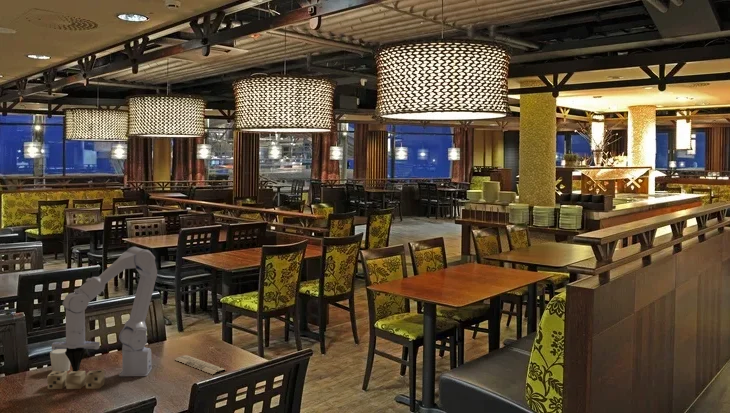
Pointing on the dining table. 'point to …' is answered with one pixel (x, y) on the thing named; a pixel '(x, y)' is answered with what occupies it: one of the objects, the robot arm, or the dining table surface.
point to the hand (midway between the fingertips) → (76, 370)
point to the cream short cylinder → (59, 360)
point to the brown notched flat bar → (199, 364)
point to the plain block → (75, 380)
